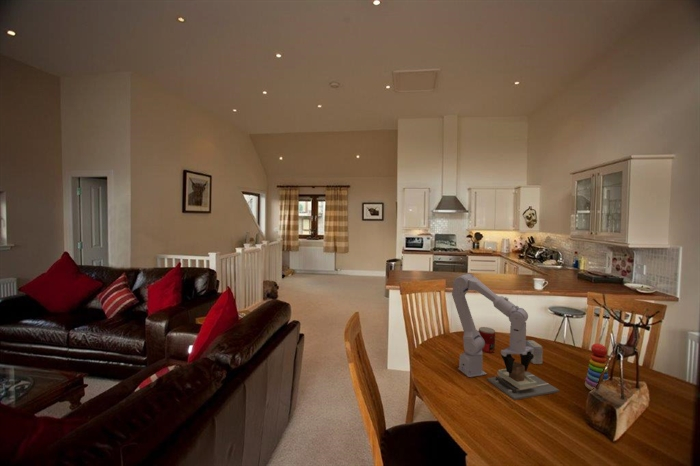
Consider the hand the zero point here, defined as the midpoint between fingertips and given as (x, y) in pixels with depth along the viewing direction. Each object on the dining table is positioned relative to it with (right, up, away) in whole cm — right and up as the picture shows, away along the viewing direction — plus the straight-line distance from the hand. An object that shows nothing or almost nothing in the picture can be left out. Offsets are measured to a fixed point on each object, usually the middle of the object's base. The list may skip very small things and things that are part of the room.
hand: (516, 370), depth 125 cm
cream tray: (0, -5, 0) cm, 5 cm away
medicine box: (+21, -6, +24) cm, 33 cm away
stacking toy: (+33, -7, -1) cm, 33 cm away
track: (+3, -7, +1) cm, 7 cm away
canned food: (+4, -5, +36) cm, 36 cm away
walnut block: (0, -3, 0) cm, 3 cm away
